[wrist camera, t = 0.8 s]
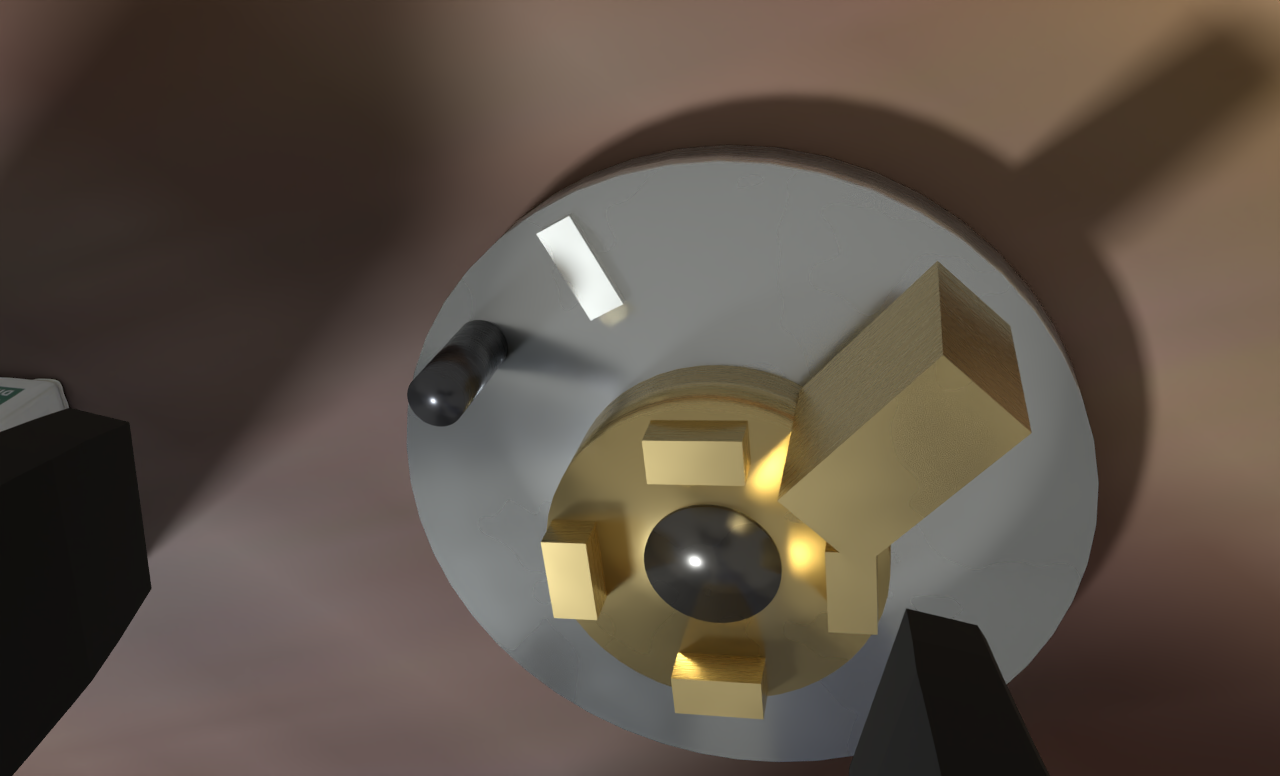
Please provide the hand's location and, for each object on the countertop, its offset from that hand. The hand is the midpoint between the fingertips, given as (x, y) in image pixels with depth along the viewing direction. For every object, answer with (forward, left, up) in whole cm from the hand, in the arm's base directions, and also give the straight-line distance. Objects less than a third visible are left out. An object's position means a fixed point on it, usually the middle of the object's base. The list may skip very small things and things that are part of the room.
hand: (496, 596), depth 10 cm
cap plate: (-5, 0, -11) cm, 12 cm away
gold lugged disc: (-4, -1, -10) cm, 11 cm away
